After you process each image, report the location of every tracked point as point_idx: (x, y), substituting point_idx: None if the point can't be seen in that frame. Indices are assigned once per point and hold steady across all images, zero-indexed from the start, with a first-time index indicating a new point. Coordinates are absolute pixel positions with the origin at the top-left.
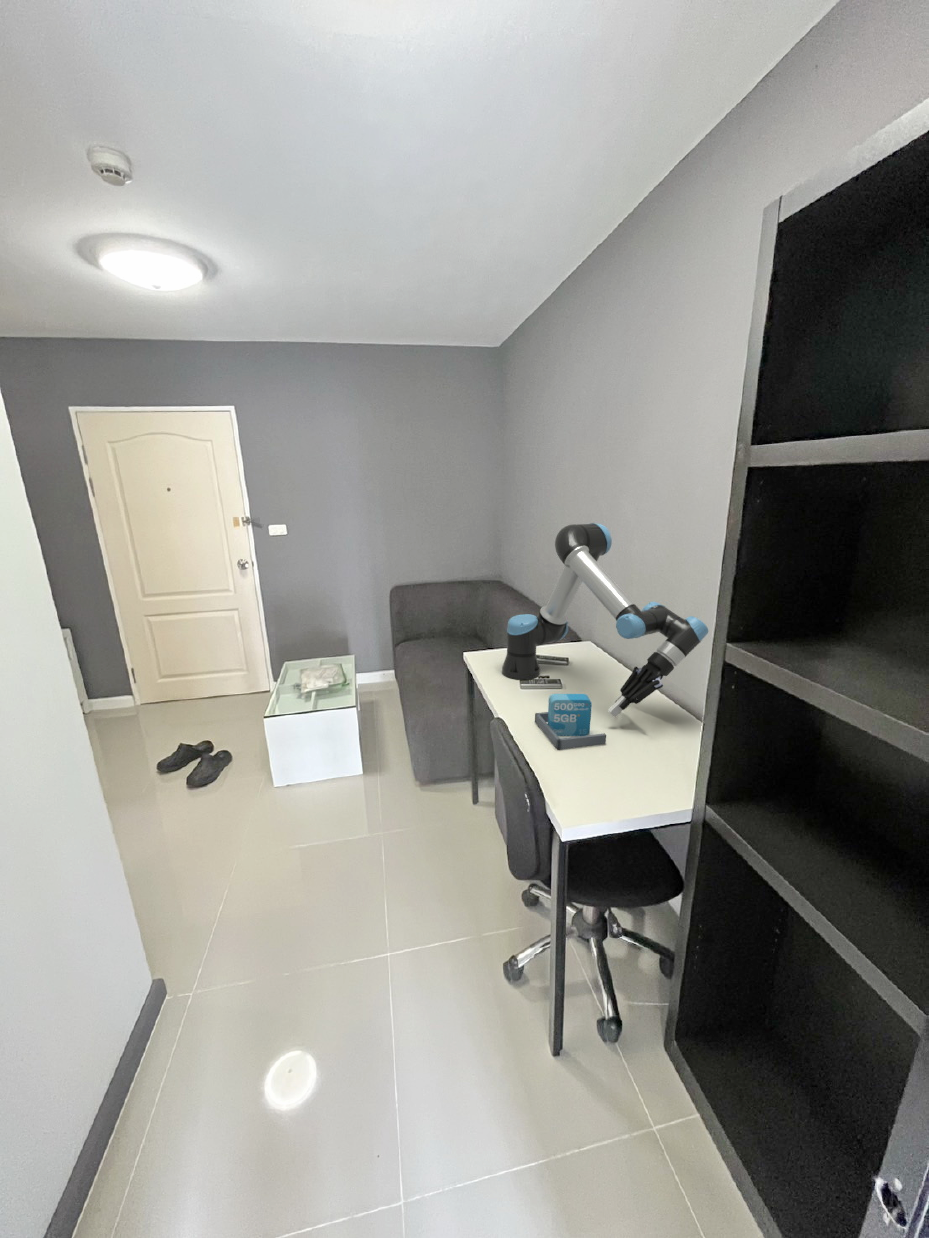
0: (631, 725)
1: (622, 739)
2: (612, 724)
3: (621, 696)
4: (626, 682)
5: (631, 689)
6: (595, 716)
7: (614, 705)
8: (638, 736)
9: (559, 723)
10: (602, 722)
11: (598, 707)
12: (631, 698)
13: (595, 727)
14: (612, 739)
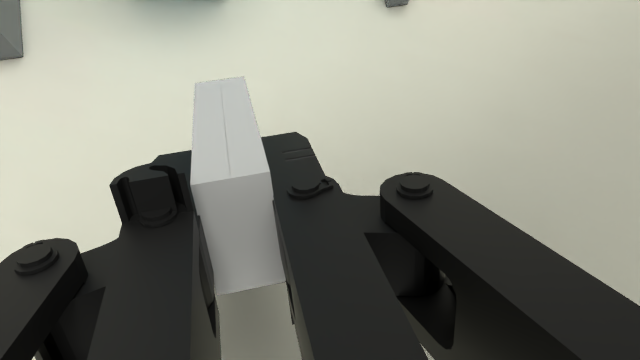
0: (274, 355)
1: (47, 199)
2: None
3: (266, 162)
4: (558, 283)
5: (302, 331)
6: (426, 119)
7: (225, 106)
8: None
9: None
10: (329, 139)
11: (586, 186)
12: (43, 246)
13: (252, 69)
14: (59, 127)
